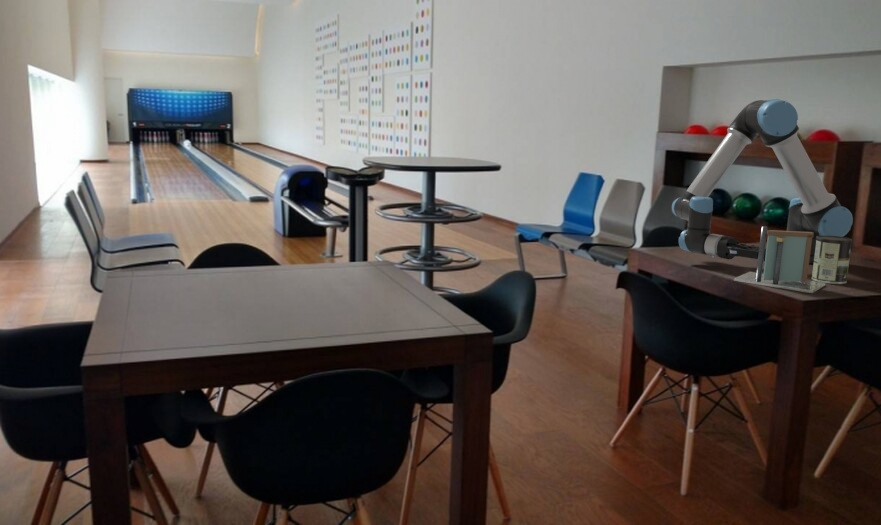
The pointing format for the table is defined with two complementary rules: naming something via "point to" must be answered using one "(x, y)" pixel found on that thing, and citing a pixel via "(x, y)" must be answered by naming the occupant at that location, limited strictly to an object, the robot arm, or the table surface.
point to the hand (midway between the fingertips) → (788, 258)
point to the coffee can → (831, 259)
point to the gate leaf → (788, 255)
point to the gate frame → (776, 271)
